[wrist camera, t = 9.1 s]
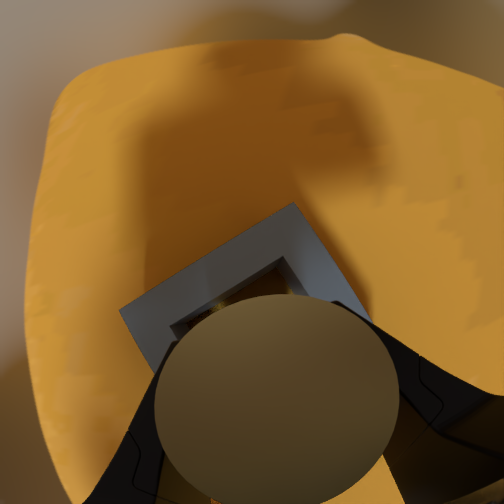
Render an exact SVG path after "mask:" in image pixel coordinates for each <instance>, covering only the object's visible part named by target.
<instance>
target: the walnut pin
mask: <svg viewBox="0 0 504 504" xmlns="http://www.w3.org/2000/svg"><path fill="white" fill-rule="evenodd" d="M154 409H155V422H156V427H157V433H158V436H159V439H160V441H161V444H162V447H163V449H164V451H165V453H166V455H167V457H168V458H169V460H170V461H171V463H172V464H173V466H174V467H175V468H176V470H177V471H178V472H179V473H180V474H181V475H182V476H183V477H184V478H185V480H186V481H187V482H189V483H190V484H191V485H192V486H194V487H195V488H196V489H197V490H199V491H200V492H202V493H203V494H205V495H207V496H208V497H210V498H212V499H214V500H216V501H218V502H221V503H223V504H320V503H323V502H326V501H328V500H330V499H332V498H334V497H336V496H338V495H339V494H341V493H343V492H344V491H346V490H347V489H349V488H350V487H352V486H353V485H354V484H355V483H357V482H358V481H359V480H360V479H361V478H362V477H364V475H365V474H366V473H367V472H368V471H369V470H370V469H371V468H372V467H373V466H374V465H375V463H376V462H377V461H378V459H379V458H380V456H381V455H382V453H383V452H384V450H385V448H386V446H387V445H388V443H389V440H390V438H391V436H392V433H393V431H394V428H395V424H396V420H397V416H398V409H399V385H398V379H397V374H396V370H395V367H394V364H393V361H392V359H391V357H390V355H389V353H388V351H387V349H386V347H385V346H384V344H383V343H382V341H381V340H380V338H379V337H378V336H377V335H376V333H375V332H374V331H373V330H372V329H371V328H370V327H369V326H368V325H367V324H366V323H365V322H363V321H362V320H361V319H360V318H358V317H357V316H356V315H354V314H352V313H351V312H349V311H347V310H346V309H344V308H342V307H340V306H338V305H335V304H333V303H331V302H328V301H325V300H321V299H318V298H314V297H309V296H302V295H295V294H275V295H266V296H259V297H254V298H250V299H246V300H242V301H240V302H237V303H234V304H232V305H229V306H226V307H224V308H222V309H221V310H219V311H217V312H215V313H213V314H211V315H210V316H208V317H207V318H205V319H204V320H202V321H201V322H200V323H198V324H197V325H196V326H195V327H193V328H192V329H191V330H190V331H189V332H188V333H187V334H186V335H185V336H184V337H183V338H182V339H181V341H180V342H179V343H178V344H177V345H176V347H175V348H174V349H173V351H172V353H171V354H170V356H169V357H168V359H167V361H166V363H165V365H164V367H163V370H162V372H161V374H160V377H159V381H158V384H157V388H156V394H155V404H154Z"/></svg>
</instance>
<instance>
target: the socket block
mask: <svg viewBox="0 0 504 504" xmlns="http://www.w3.org/2000/svg"><path fill="white" fill-rule="evenodd" d="M276 267H277V269H278V270H279V272H280V273H281V275H282V276H283V278H284V279H285V281H286V282H287V284H288V286H289V287H290V289H291V290H292V292H293V293H294V294H295V295H302V296H309V297H314V298H318V299H321V300H325V301H328V302H331V301H335V300H337V301H340V302H341V303H343V304H344V305H346V306H347V307H349V308H350V309H352V310H353V311H355V312H356V313H358V314H359V315H361V316H362V317H364V318H365V319H367V320H368V321H370V322H371V323H373V322H372V321H371V319H370V317H369V316H368V314H367V312H366V311H365V309H364V308H363V306H362V304H361V303H360V301H359V299H358V298H357V296H356V295H355V293H354V291H353V290H352V288H351V287H350V285H349V283H348V282H347V280H346V279H345V277H344V276H343V274H342V272H341V271H340V269H339V268H338V266H337V265H336V263H335V262H334V260H333V259H332V257H331V256H330V254H329V253H328V251H327V250H326V248H325V247H324V245H323V244H322V242H321V241H320V239H319V238H318V236H317V235H316V233H315V232H314V230H313V229H312V227H311V226H310V224H309V223H308V221H307V220H306V219H305V217H304V216H303V214H302V213H301V211H300V210H299V209H298V207H297V206H296V204H295V203H294V202H293V203H291V204H289V205H288V206H286V207H284V208H283V209H281V210H279V211H278V212H276V213H274V214H273V215H271V216H269V217H268V218H266V219H264V220H263V221H261V222H259V223H258V224H256V225H254V226H253V227H251V228H249V229H248V230H246V231H244V232H243V233H241V234H240V235H238V236H236V237H235V238H233V239H231V240H230V241H228V242H226V243H225V244H223V245H222V246H220V247H218V248H217V249H215V250H213V251H212V252H210V253H209V254H207V255H205V256H204V257H202V258H200V259H199V260H197V261H196V262H194V263H192V264H191V265H189V266H188V267H186V268H184V269H183V270H181V271H180V272H178V273H176V274H175V275H173V276H172V277H170V278H168V279H167V280H165V281H164V282H162V283H161V284H159V285H157V286H156V287H154V288H153V289H151V290H149V291H148V292H146V293H145V294H143V295H142V296H140V297H138V298H137V299H135V300H134V301H132V302H131V303H129V304H128V305H126V306H124V307H123V308H121V309H120V310H119V312H120V314H121V316H122V318H123V320H124V321H125V323H126V325H127V327H128V329H129V331H130V333H131V334H132V336H133V338H134V340H135V342H136V343H137V345H138V347H139V349H140V350H141V352H142V354H143V356H144V357H145V359H146V361H147V362H148V364H149V366H150V367H151V369H152V371H153V372H154V374H155V373H156V371H157V369H158V367H159V365H160V363H161V361H162V359H163V357H164V355H165V353H166V351H167V349H168V347H169V346H170V344H171V342H172V341H175V340H180V339H182V338H183V337H184V336H185V335H186V334H187V333H188V332H189V331H190V329H189V327H188V326H187V324H186V323H187V322H189V321H190V320H192V319H194V318H195V317H197V316H199V315H200V314H202V313H204V312H205V311H207V310H209V309H210V308H212V307H213V306H215V305H217V304H218V303H220V302H222V301H223V300H225V299H226V298H228V297H230V296H231V295H233V294H235V293H236V292H238V291H239V290H241V289H243V288H244V287H246V286H247V285H249V284H251V283H252V282H254V281H255V280H257V279H259V278H260V277H262V276H263V275H265V274H267V273H268V272H270V271H271V270H273V269H274V268H276Z"/></svg>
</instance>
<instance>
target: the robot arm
mask: <svg viewBox="0 0 504 504" xmlns="http://www.w3.org/2000/svg"><path fill="white" fill-rule="evenodd" d="M331 303H333V304H335V305H338V306H340V307H342V308H344V309H346V310H347V311H349V312H351V313H352V314H354V315H356V316H357V317H358V318H360V319H361V320H362V321H363V322H365V323H366V324H367V325H368V326H369V327H370V328H371V329H372V330H373V331H374V332H375V333H376V335H377V336H378V337H379V338H380V340H381V341H382V343H383V344H384V346H385V347H386V349H387V351H388V353H389V355H390V357H391V359H392V361H393V364H394V367H395V370H396V374H397V379H398V385H399V409H398V416H397V420H396V424H395V428H394V431H393V433H392V436H391V438H390V440H389V443H388V445H387V446H386V448H385V450H384V452H383V453H382V454H383V456H384V458H385V460H386V463H387V465H388V467H389V469H390V471H391V474H392V476H393V478H394V480H395V482H396V484H397V487H398V489H399V491H400V493H401V495H402V498H403V500H404V502H405V504H504V396H500V395H494V394H490V393H487V392H485V391H483V390H481V389H479V388H477V387H475V386H473V385H471V384H469V383H467V382H465V381H463V380H461V379H459V378H457V377H455V376H453V375H452V374H450V373H448V372H446V371H444V370H443V369H441V368H439V367H438V366H436V365H435V364H433V363H431V362H430V361H428V360H427V359H425V358H424V357H422V356H419V354H418V353H416V352H415V351H413V350H412V349H410V348H409V347H407V346H406V345H404V344H403V343H401V342H400V341H398V340H397V339H395V338H394V337H392V336H391V335H389V334H388V333H386V332H385V331H383V330H382V329H380V328H379V327H377V326H376V325H374V324H373V323H371V322H370V321H368V320H367V319H365V318H364V317H362V316H361V315H359V314H358V313H356V312H355V311H353V310H352V309H350V308H349V307H347V306H346V305H344V304H343V303H341V302H340V301H337V300H335V301H331ZM180 341H181V339H180V340H175V341H172V342H171V344H170V346H169V347H168V349H167V351H166V353H165V355H164V357H163V359H162V361H161V363H160V365H159V367H158V369H157V371H156V373H155V375H154V377H153V379H152V381H151V383H150V385H149V387H148V389H147V391H146V393H145V395H144V397H143V399H142V401H141V403H140V405H139V407H138V409H137V411H136V413H135V415H134V417H133V419H132V422H131V424H130V426H129V428H128V430H129V431H127V432H126V434H125V436H124V438H123V440H122V442H121V444H120V446H119V448H118V450H117V452H116V454H115V455H114V457H113V459H112V460H111V462H110V464H109V466H108V467H107V469H106V470H105V472H104V474H103V475H102V477H101V478H100V480H99V482H98V483H97V485H96V486H95V488H94V490H93V491H92V493H91V494H90V496H89V497H88V498H87V499H86V500H85V501H84V502H83V503H82V504H211V501H210V497H208V496H207V495H205V494H203V493H202V492H200V491H199V490H197V489H196V488H195V487H194V486H192V485H191V484H190V483H189V482H187V481H186V480H185V478H184V477H183V476H182V475H181V474H180V473H179V472H178V471H177V470H176V468H175V467H174V466H173V464H172V463H171V461H170V460H169V458H168V457H167V455H166V453H165V451H164V449H163V447H162V444H161V441H160V439H159V436H158V433H157V427H156V422H155V409H154V404H155V394H156V388H157V384H158V381H159V377H160V374H161V372H162V370H163V367H164V365H165V363H166V361H167V359H168V357H169V356H170V354H171V353H172V351H173V349H174V348H175V347H176V345H177V344H178V343H179V342H180Z"/></svg>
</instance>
